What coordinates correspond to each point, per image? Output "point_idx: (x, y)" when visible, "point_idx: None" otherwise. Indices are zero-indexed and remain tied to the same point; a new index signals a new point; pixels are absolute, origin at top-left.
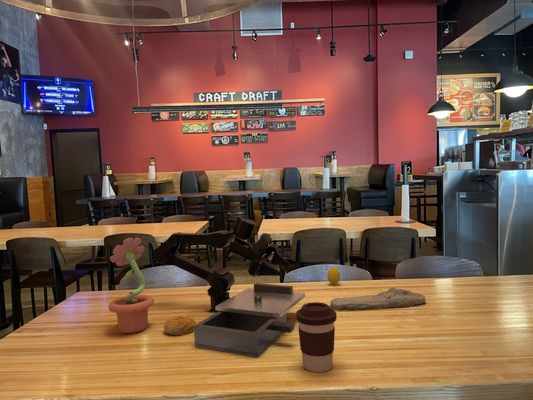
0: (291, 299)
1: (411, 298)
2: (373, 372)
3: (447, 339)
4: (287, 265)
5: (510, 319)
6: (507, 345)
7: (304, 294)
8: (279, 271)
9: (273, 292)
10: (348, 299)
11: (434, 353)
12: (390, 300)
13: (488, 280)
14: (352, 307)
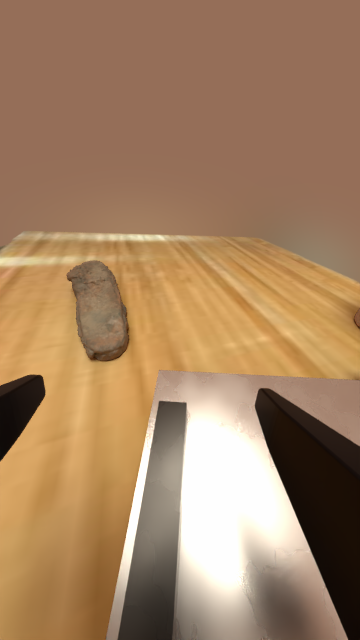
0: (246, 393)
1: (104, 266)
2: (329, 285)
3: (208, 257)
4: (35, 402)
5: (147, 238)
6: (204, 240)
7: (165, 371)
8: (277, 397)
9: (180, 542)
10: (96, 323)
11: (246, 261)
12: (113, 279)
13: (25, 242)
14: (126, 320)
